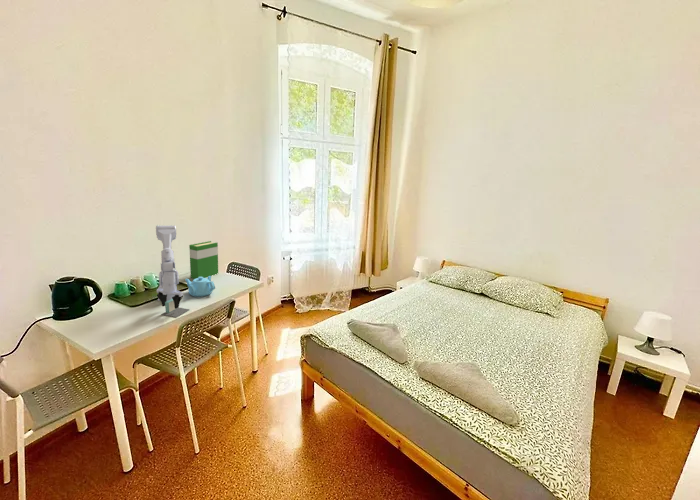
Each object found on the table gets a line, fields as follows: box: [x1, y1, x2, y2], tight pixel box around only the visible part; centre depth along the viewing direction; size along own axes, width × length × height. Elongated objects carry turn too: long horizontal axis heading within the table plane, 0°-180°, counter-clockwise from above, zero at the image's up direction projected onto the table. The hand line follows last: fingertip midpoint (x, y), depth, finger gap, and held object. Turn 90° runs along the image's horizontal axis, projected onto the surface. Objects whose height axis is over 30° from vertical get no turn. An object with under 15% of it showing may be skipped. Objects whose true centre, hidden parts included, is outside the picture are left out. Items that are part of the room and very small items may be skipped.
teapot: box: [184, 276, 216, 298], centre depth 195 cm, size 15×15×11 cm
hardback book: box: [188, 240, 219, 280], centre depth 225 cm, size 18×7×24 cm, turn 155°
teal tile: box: [164, 299, 176, 313], centre depth 169 cm, size 2×5×6 cm, turn 168°
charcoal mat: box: [160, 306, 190, 318], centre depth 169 cm, size 9×10×1 cm
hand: (170, 306), depth 169 cm, fingers open, 7 cm apart
